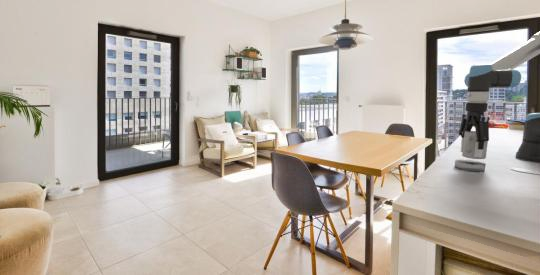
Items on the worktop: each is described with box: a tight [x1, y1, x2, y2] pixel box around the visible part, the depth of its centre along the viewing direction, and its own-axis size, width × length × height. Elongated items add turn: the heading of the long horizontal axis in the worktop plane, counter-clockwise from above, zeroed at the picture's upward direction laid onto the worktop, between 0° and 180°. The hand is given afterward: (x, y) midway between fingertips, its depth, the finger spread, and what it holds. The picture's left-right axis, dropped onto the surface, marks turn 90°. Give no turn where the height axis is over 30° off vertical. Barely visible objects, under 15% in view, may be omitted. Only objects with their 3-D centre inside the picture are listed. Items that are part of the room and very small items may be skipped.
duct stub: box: [454, 158, 487, 173], centre depth 125 cm, size 11×11×3 cm
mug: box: [461, 130, 489, 160], centre depth 122 cm, size 12×8×11 cm
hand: (470, 154), depth 124 cm, fingers closed on mug, 9 cm apart
